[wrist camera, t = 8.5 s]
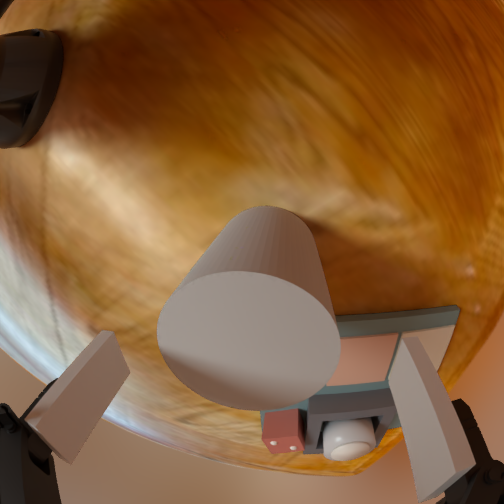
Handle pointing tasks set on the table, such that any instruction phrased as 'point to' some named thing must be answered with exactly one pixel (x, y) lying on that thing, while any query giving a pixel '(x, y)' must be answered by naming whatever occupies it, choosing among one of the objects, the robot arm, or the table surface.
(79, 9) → the table surface
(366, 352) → the board
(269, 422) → the die
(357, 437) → the dome
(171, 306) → the white cylinder
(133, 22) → the table surface
